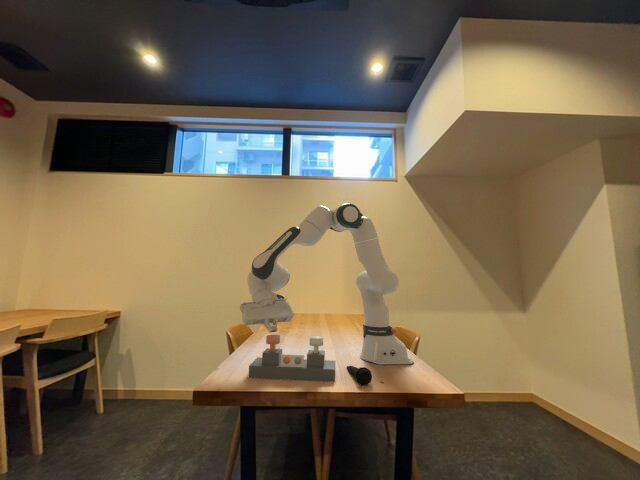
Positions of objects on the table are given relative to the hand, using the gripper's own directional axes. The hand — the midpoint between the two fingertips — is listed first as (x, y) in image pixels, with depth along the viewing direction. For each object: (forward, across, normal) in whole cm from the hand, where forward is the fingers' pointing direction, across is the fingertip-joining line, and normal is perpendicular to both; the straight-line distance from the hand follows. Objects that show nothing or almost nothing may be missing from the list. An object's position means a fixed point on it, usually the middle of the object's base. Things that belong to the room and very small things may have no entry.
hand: (273, 331), depth 102 cm
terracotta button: (+6, 0, +5) cm, 8 cm away
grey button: (+13, +13, -2) cm, 18 cm away
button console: (+14, +6, +7) cm, 17 cm away
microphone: (+24, +25, -2) cm, 35 cm away
